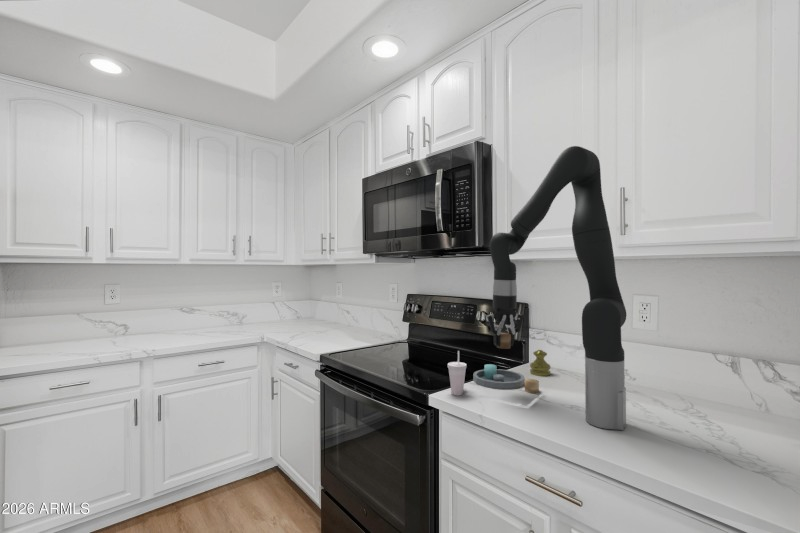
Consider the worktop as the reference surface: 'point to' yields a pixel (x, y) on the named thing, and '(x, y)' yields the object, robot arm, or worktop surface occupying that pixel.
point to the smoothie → (457, 376)
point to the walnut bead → (505, 341)
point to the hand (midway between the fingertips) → (503, 345)
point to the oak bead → (531, 386)
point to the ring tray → (500, 379)
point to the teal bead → (489, 371)
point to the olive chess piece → (540, 364)
